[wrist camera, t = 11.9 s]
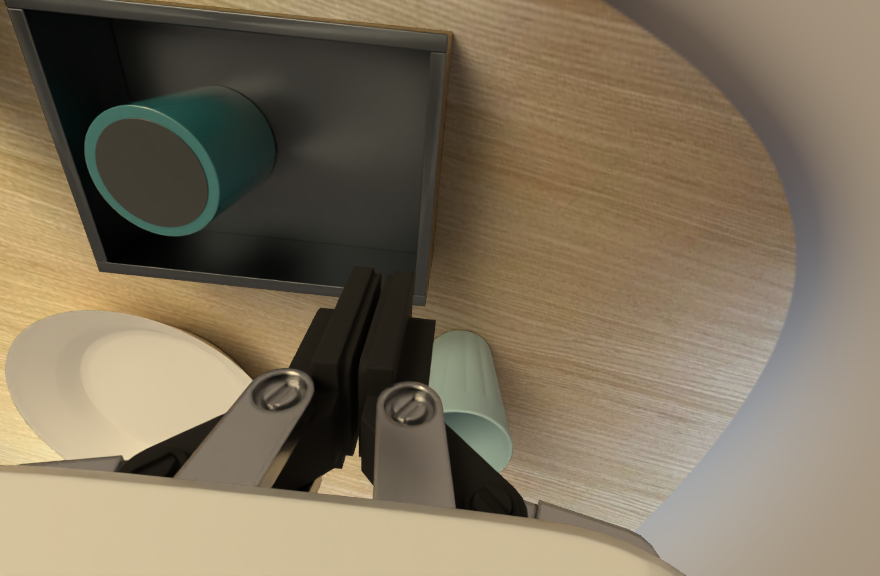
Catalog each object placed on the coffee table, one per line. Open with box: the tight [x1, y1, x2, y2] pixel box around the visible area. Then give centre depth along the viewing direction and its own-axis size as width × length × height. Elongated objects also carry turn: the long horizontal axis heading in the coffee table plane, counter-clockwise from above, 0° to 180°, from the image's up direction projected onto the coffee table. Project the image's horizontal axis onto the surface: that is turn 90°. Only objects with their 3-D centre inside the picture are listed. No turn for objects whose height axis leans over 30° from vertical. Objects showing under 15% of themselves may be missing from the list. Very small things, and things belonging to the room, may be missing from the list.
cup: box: [429, 330, 513, 473], centre depth 35 cm, size 8×8×10 cm
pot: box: [85, 85, 276, 236], centre depth 27 cm, size 7×7×8 cm
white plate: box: [5, 310, 253, 460], centre depth 43 cm, size 25×25×4 cm
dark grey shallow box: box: [4, 0, 453, 306], centre depth 28 cm, size 16×22×7 cm
